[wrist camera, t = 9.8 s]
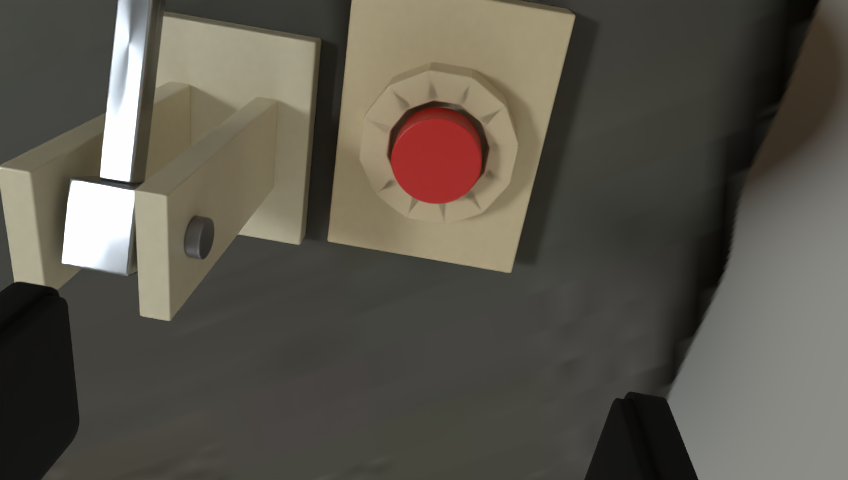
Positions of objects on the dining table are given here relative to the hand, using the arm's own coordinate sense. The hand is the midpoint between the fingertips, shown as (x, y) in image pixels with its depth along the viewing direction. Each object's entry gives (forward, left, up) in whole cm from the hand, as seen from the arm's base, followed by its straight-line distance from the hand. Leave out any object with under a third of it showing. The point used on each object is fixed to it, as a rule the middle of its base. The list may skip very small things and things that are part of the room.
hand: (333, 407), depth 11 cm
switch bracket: (+3, -9, -21) cm, 23 cm away
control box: (+1, +1, -21) cm, 21 cm away
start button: (+1, +1, -17) cm, 17 cm away
